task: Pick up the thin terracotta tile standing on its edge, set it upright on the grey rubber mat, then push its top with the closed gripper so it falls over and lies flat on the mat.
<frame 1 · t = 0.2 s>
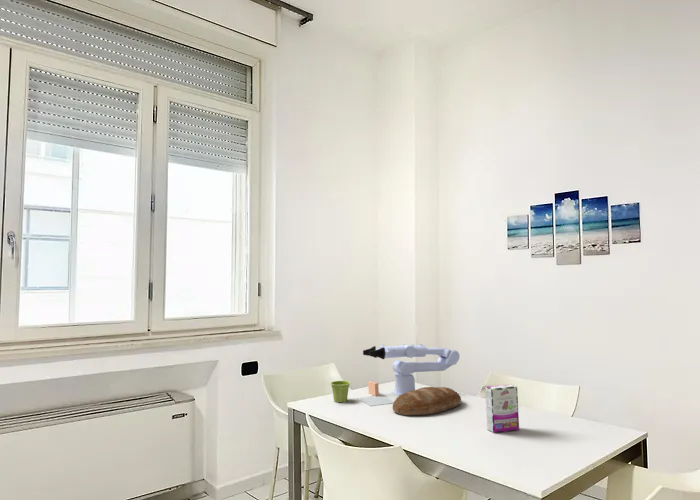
hand: (366, 353, 248), 21 cm above the table, tool horizontal, fingers open, 7 cm apart
candy bar box: (502, 430, 192), on the table
bread: (427, 408, 227), on the table
plant pot: (340, 401, 240), on the table
tile: (373, 394, 251), on the table, touching mat
mat: (375, 401, 239), on the table
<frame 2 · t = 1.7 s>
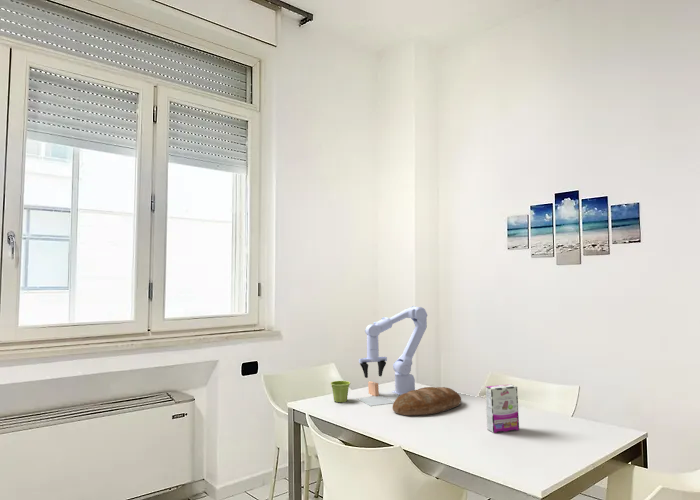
hand: (373, 376, 251), 9 cm above the table, tool pointing down, fingers open, 7 cm apart
nothing on the table moved.
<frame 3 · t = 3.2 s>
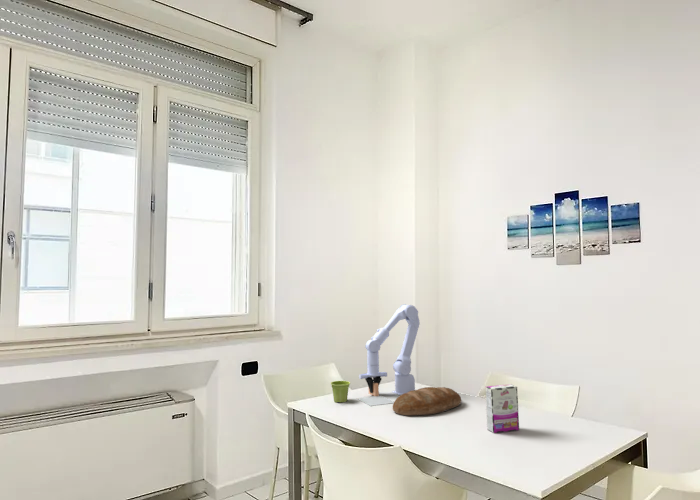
hand: (373, 392, 251), 1 cm above the table, tool pointing down, fingers closed on tile, 2 cm apart
tile: (373, 394, 251), on the table, touching gripper, mat
everything else where it was.
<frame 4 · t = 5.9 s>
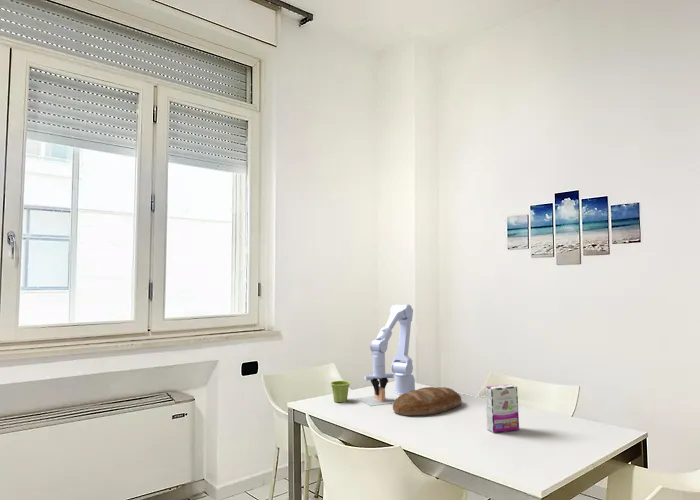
hand: (379, 394, 240), 3 cm above the table, tool pointing down, fingers closed
tile: (379, 399, 240), resting on mat
everything else where it was.
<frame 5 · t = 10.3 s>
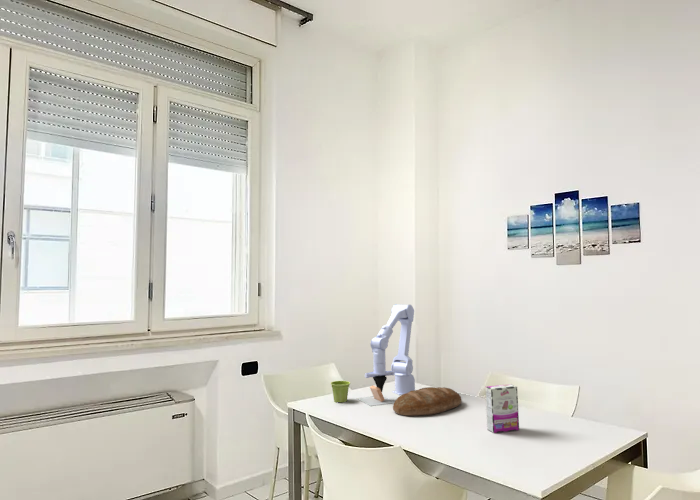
hand: (379, 391, 240), 4 cm above the table, tool pointing down, fingers closed
tile: (379, 399, 240), point 1 cm above the table, tilted 24°, touching mat
everything else where it was.
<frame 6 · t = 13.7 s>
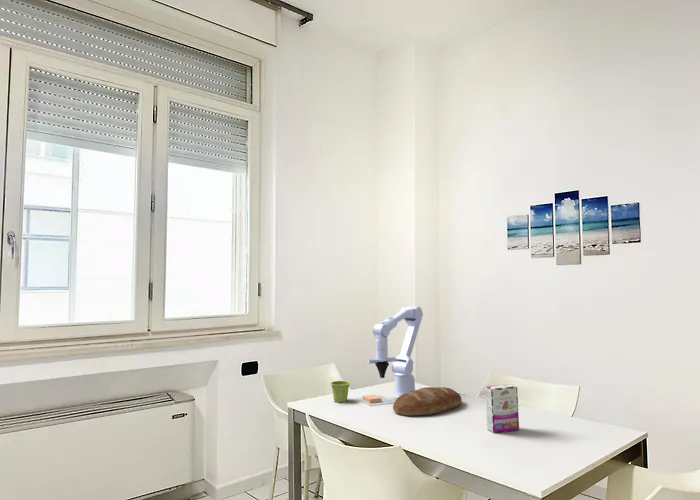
hand: (382, 377, 244), 10 cm above the table, tool pointing down, fingers closed
tile: (377, 398, 239), point 1 cm above the table, tilted 90°, touching mat
everything else where it was.
at the end: tile tilted 90°; tile inside the target area (1.5 cm from its centre), point 1.3 cm above the table; the gripper is holding nothing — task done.
